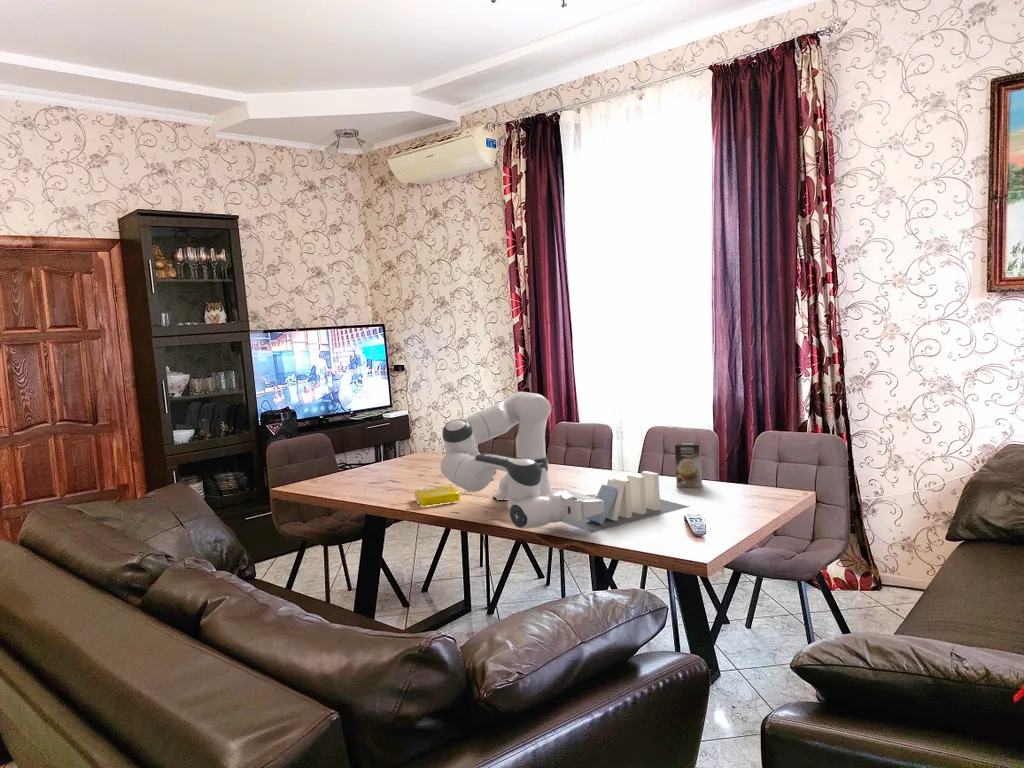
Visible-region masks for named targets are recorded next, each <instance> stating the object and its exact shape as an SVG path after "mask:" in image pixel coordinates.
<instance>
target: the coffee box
mask: <svg viewBox="0 0 1024 768" xmlns="http://www.w3.org/2000/svg"><path fill="white" fill-rule="evenodd" d="M674 451H675V452H674V453H675V454H674V455H675V474H676V475H675V477H676V479H675V480H676V485H675V487H676V488H702V485H703V482H702V481H703V480H702V479H703V478H702V454H701V451H702V449H701V442H700V441H676V442H675V444H674Z"/></svg>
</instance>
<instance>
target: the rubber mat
mask: <svg viewBox="0 0 1024 768" xmlns="http://www.w3.org/2000/svg"><path fill="white" fill-rule="evenodd" d="M686 508H690V505H684V504H681V503H677V502H674V501H673V502H672V501H670V500H667V499H666V500H665V499H661V498H660V510H657V511H655V510H651V509H647V508H646V514H638V513H635V512H632V517H631V518H625V517H621V516H618V520H617V521H615V520H611V519H607V518H605V520H604V522H603V524H602V525H601V524H598V523H595V522H592V521H590V520H588V519H586V518H582V520H581V521H560V522H561V523H564V524H566V525H569V526H572V527H575V528H577V529H580V530H584V531H585V532H589V533H591V534H592V533H595V532H600V531H603V530H606V529H608V530H609V529H611V528H614V527H618V526H622V525H626V524H630V523H633V522H637V521H640V520H644V519H649V518H653V517H655V516H656V517H657V516H660V515H664V514H667V513H671V512H675V511H678V510H683V509H686Z"/></svg>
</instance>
